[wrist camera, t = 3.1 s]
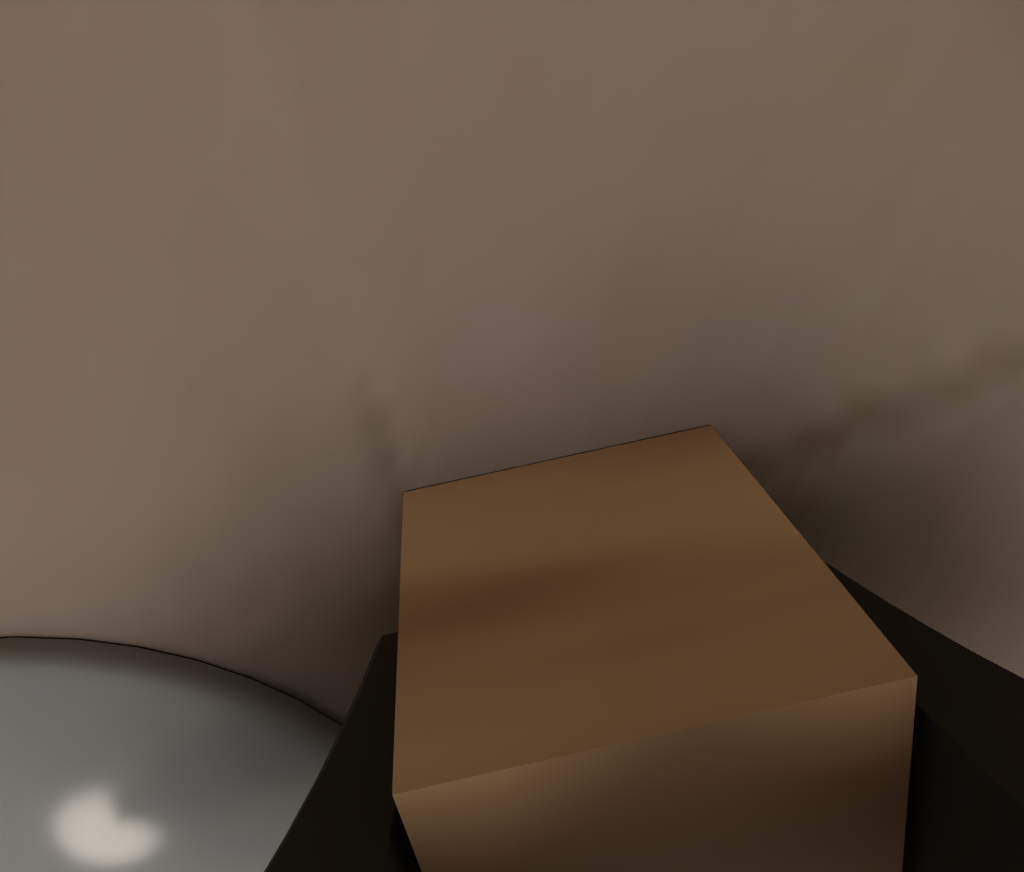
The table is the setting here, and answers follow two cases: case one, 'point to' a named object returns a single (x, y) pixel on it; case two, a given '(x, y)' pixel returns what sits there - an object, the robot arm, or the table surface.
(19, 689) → the slate dish
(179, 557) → the table surface
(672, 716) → the walnut block
